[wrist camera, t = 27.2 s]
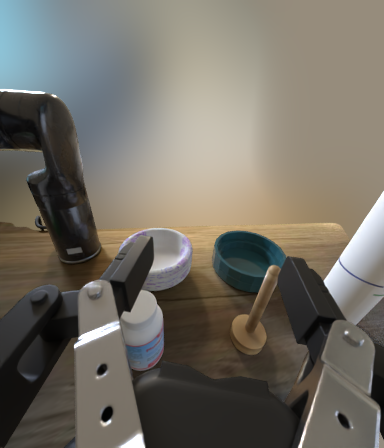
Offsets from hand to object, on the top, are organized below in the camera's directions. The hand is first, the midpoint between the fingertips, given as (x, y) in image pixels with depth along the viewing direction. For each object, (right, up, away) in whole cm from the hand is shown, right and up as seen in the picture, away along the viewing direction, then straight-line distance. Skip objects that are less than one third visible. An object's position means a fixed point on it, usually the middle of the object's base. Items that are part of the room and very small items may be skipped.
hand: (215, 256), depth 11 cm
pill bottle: (-9, -18, +17) cm, 27 cm away
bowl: (+12, -9, +34) cm, 37 cm away
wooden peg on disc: (+8, -17, +20) cm, 28 cm away
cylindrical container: (+26, -16, +25) cm, 39 cm away
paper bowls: (-9, -9, +31) cm, 34 cm away
